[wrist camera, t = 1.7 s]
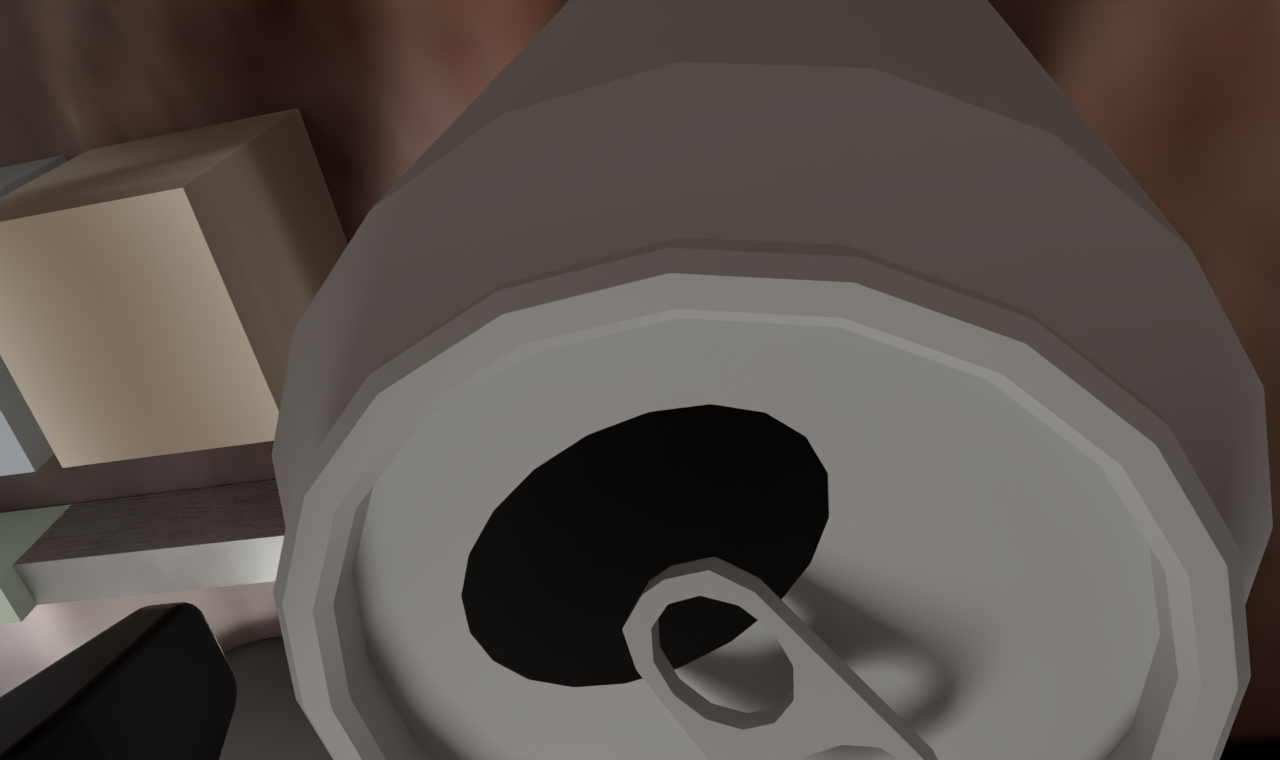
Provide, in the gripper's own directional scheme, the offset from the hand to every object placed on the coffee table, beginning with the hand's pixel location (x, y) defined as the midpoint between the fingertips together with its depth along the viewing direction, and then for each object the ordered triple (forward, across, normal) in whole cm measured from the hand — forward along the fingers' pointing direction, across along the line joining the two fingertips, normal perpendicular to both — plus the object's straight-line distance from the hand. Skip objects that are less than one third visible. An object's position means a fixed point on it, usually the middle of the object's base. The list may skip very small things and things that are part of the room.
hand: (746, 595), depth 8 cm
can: (+11, 0, 0) cm, 11 cm away
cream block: (+11, +10, 0) cm, 14 cm away
